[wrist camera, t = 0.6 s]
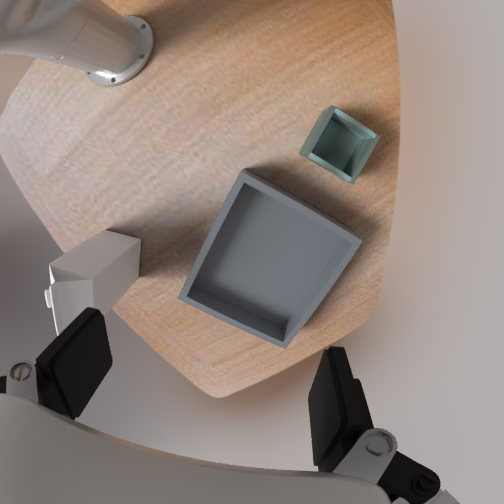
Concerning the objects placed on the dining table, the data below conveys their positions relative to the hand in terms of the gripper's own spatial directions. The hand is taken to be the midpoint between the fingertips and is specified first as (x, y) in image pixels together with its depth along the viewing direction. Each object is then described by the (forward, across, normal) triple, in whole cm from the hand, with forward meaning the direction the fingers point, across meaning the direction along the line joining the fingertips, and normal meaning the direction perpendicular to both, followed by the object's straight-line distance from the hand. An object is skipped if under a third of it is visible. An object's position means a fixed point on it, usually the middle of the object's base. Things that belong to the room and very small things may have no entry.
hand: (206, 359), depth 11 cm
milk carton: (+31, +21, +10) cm, 39 cm away
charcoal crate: (+32, -3, +7) cm, 32 cm away
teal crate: (+31, -10, -10) cm, 34 cm away
